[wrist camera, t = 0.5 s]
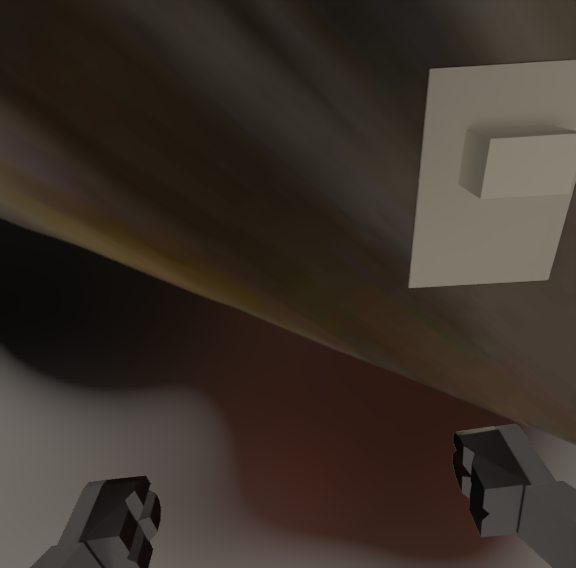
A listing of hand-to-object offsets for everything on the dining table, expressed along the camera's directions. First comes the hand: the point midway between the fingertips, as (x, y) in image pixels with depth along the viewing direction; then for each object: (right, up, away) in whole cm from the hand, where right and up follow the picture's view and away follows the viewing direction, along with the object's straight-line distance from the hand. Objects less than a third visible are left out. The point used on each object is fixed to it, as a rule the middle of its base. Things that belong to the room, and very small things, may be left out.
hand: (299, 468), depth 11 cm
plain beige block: (+26, +21, +40) cm, 52 cm away
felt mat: (+26, +17, +42) cm, 52 cm away
